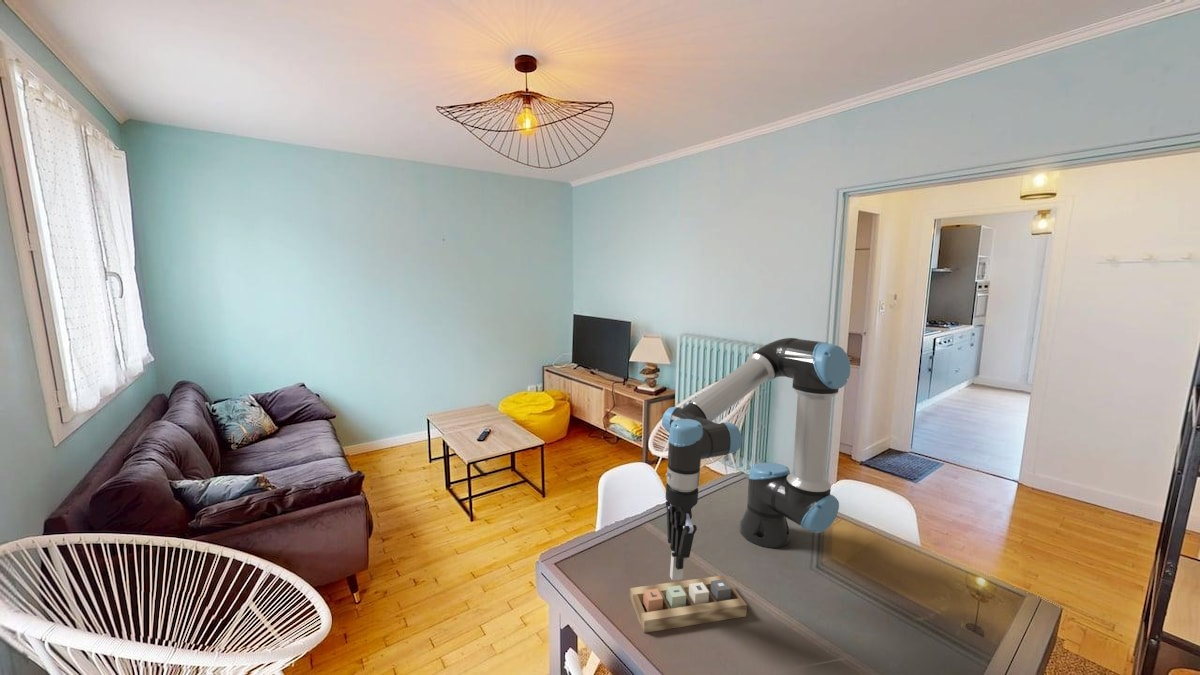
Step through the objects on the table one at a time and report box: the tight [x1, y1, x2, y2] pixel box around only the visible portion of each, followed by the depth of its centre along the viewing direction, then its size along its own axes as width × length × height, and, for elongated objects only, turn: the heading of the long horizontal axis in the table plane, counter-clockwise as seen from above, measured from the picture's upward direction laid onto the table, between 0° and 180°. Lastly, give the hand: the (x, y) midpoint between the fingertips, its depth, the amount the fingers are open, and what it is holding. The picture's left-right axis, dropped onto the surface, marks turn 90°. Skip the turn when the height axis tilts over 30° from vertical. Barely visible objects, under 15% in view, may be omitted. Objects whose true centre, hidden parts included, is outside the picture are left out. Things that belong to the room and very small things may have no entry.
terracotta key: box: [643, 588, 663, 612], centre depth 107 cm, size 4×4×3 cm
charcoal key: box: [710, 579, 731, 602], centre depth 111 cm, size 4×4×3 cm
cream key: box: [689, 582, 709, 605], centre depth 109 cm, size 4×4×3 cm
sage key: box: [666, 585, 686, 609], centre depth 108 cm, size 4×4×3 cm
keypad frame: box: [629, 574, 748, 634], centre depth 109 cm, size 26×11×3 cm, turn 103°
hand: (676, 577), depth 107 cm, fingers closed
